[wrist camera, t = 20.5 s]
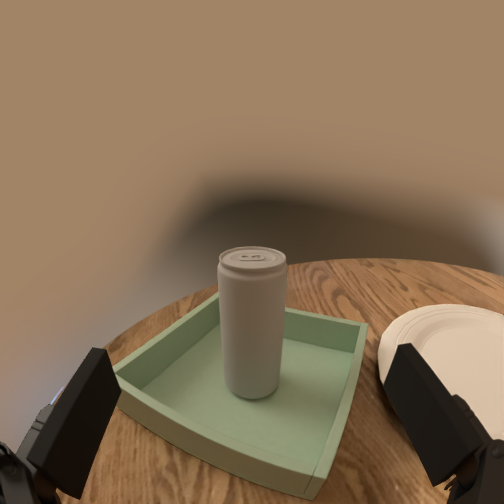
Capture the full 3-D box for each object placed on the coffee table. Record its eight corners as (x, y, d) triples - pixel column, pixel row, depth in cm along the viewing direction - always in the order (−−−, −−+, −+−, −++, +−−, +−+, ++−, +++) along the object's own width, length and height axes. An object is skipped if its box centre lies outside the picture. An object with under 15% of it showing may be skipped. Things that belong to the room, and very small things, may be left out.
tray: (117, 407, 19) (102, 373, 18) (220, 321, 34) (218, 291, 33) (312, 501, 12) (326, 479, 10) (360, 355, 27) (368, 323, 25)
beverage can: (282, 400, 20) (294, 268, 17) (224, 403, 20) (214, 269, 16) (275, 364, 25) (281, 245, 21) (225, 366, 25) (218, 246, 21)
